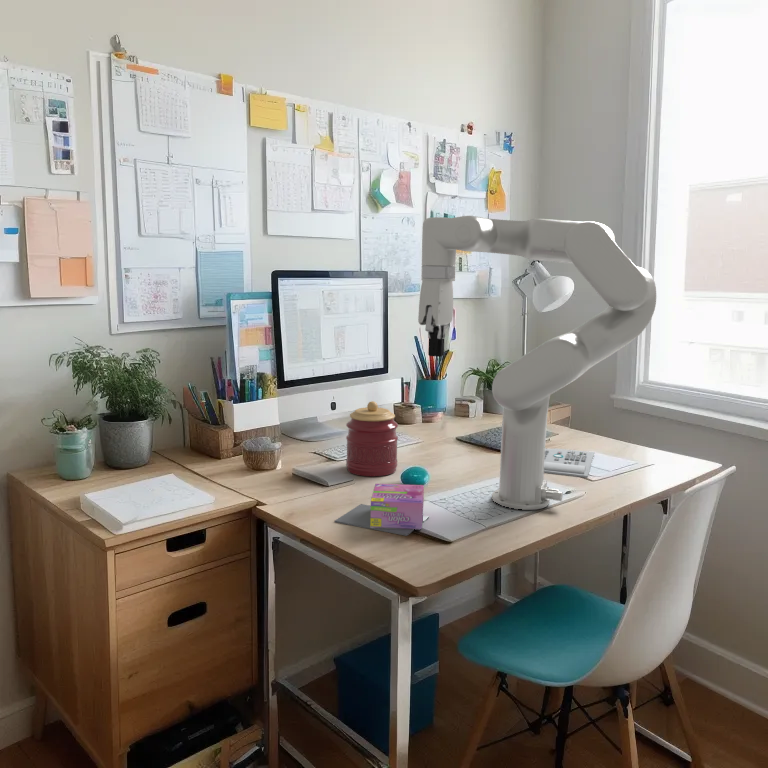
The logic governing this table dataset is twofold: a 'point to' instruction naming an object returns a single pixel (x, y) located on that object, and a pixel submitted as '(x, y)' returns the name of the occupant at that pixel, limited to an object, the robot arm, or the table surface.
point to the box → (397, 506)
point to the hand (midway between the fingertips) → (436, 355)
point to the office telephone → (568, 462)
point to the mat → (366, 520)
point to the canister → (372, 442)
